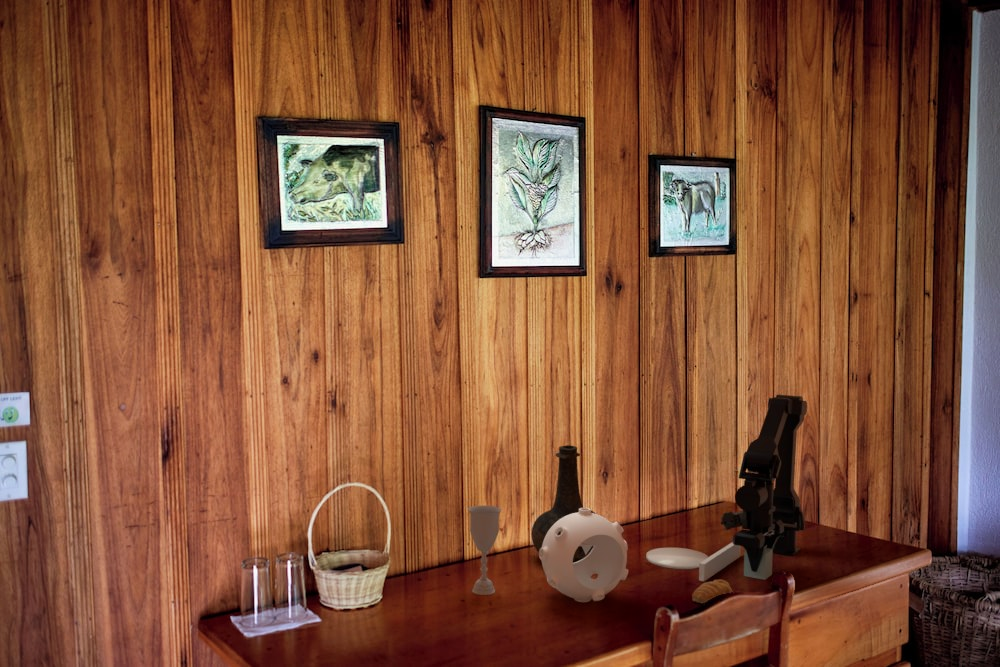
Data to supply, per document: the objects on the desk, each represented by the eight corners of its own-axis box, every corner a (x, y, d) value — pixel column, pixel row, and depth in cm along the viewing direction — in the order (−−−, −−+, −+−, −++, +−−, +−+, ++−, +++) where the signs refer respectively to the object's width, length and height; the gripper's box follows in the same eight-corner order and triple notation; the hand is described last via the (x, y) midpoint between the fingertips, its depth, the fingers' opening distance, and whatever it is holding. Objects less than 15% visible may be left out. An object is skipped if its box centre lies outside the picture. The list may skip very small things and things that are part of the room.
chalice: (504, 588, 206) (505, 507, 205) (494, 598, 200) (495, 514, 199) (473, 584, 209) (474, 504, 208) (462, 593, 202) (463, 511, 201)
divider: (735, 555, 233) (736, 539, 233) (740, 556, 233) (740, 540, 233) (699, 580, 214) (699, 563, 213) (704, 581, 213) (704, 564, 213)
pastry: (709, 609, 195) (709, 591, 195) (683, 601, 201) (683, 583, 200) (736, 600, 201) (736, 582, 201) (710, 592, 207) (711, 575, 206)
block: (750, 570, 222) (751, 545, 221) (771, 574, 219) (772, 549, 218) (743, 575, 217) (744, 550, 217) (765, 579, 215) (765, 554, 214)
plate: (661, 547, 240) (661, 544, 240) (718, 557, 231) (718, 554, 231) (636, 561, 227) (636, 558, 227) (694, 573, 219) (694, 569, 219)
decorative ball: (605, 582, 211) (606, 496, 210) (643, 607, 195) (645, 514, 194) (523, 591, 204) (524, 502, 203) (556, 618, 188) (557, 522, 187)
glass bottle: (620, 564, 225) (623, 448, 223) (561, 577, 214) (564, 456, 213) (573, 546, 239) (575, 437, 238) (516, 557, 229) (518, 443, 228)
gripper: (740, 490, 229) (738, 553, 230) (711, 504, 214) (710, 572, 215) (785, 496, 223) (783, 561, 224) (760, 512, 208) (757, 581, 209)
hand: (758, 568), depth 218 cm, fingers closed on block, 5 cm apart
